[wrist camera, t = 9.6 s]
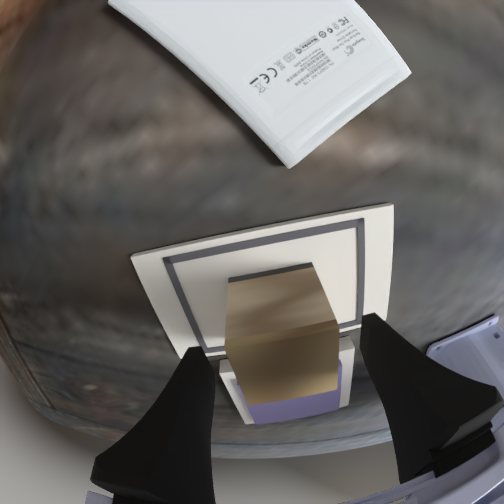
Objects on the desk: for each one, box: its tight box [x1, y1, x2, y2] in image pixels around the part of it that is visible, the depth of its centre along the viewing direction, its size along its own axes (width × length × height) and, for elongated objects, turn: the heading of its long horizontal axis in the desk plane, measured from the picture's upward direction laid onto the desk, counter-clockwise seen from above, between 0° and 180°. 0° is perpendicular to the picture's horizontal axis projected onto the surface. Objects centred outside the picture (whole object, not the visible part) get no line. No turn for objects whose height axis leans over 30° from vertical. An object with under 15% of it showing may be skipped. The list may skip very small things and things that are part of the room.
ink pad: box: [219, 336, 355, 425], centre depth 19 cm, size 9×8×2 cm
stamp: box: [224, 262, 340, 405], centre depth 13 cm, size 4×4×5 cm
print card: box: [130, 203, 394, 359], centre depth 15 cm, size 14×8×1 cm, turn 102°
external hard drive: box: [108, 0, 411, 169], centre depth 9 cm, size 2×8×12 cm
